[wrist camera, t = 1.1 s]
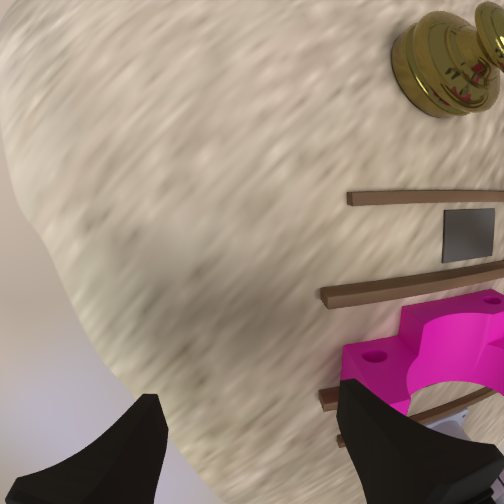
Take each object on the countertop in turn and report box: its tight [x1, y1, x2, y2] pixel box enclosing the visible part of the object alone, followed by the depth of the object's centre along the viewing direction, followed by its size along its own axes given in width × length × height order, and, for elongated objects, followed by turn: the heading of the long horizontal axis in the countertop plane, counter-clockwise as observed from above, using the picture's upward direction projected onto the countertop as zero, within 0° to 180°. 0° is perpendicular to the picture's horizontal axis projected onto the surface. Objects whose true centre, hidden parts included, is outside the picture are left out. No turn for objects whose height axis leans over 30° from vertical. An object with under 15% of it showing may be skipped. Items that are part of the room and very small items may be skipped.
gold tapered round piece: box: [392, 1, 504, 118], centre depth 12 cm, size 7×8×10 cm
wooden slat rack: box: [319, 190, 504, 448], centre depth 20 cm, size 22×33×4 cm
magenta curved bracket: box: [340, 289, 504, 416], centre depth 18 cm, size 15×6×8 cm, turn 94°
